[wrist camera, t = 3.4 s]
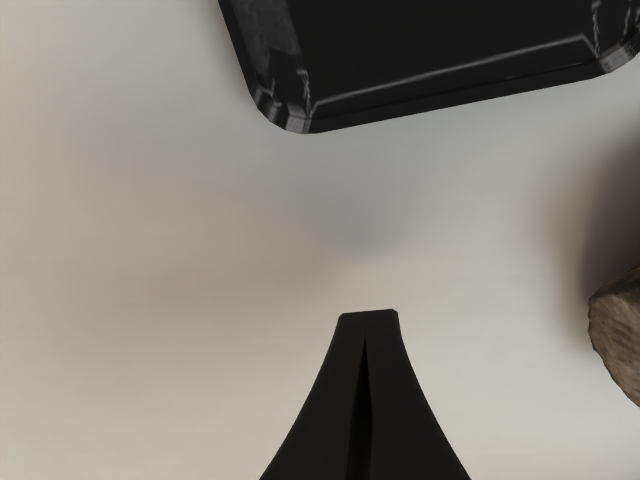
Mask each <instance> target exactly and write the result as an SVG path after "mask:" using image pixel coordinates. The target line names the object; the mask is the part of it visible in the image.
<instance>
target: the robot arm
mask: <svg viewBox="0 0 640 480" xmlns="http://www.w3.org/2000/svg"><path fill="white" fill-rule="evenodd" d="M259 480H471V478H470V477H469V475H468V474H467V472H466V470H465V469H464V467H463V465H462V464H461V462H460V461H459V459H458V457H457V456H456V454H455V452H454V451H453V449H452V447H451V445H450V444H449V442H448V440H447V438H446V437H445V435H444V433H443V431H442V429H441V428H440V426H439V424H438V422H437V420H436V418H435V416H434V414H433V412H432V410H431V408H430V406H429V404H428V402H427V400H426V398H425V396H424V394H423V391H422V389H421V387H420V385H419V382H418V380H417V378H416V375H415V373H414V370H413V368H412V366H411V363H410V360H409V358H408V355H407V352H406V349H405V346H404V343H403V340H402V336H401V331H400V324H399V318H398V312H397V311H395V310H393V309H386V310H374V311H363V312H352V313H343V314H342V315H340V316H339V319H338V322H337V326H336V329H335V332H334V335H333V338H332V341H331V344H330V346H329V349H328V352H327V354H326V357H325V359H324V362H323V364H322V366H321V369H320V371H319V373H318V375H317V378H316V380H315V382H314V385H313V387H312V389H311V391H310V393H309V395H308V397H307V399H306V401H305V403H304V405H303V407H302V409H301V411H300V413H299V415H298V417H297V419H296V420H295V422H294V424H293V426H292V428H291V429H290V431H289V433H288V435H287V436H286V438H285V440H284V442H283V443H282V445H281V447H280V448H279V450H278V451H277V453H276V455H275V456H274V458H273V459H272V461H271V462H270V464H269V465H268V467H267V468H266V470H265V471H264V473H263V474H262V476H261V477H260V479H259Z"/></svg>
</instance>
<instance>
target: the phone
mask: <svg viewBox="0 0 640 480" xmlns="http://www.w3.org/2000/svg"><path fill="white" fill-rule="evenodd" d="M218 2H219V5H220V8H221V11H222V14H223V17H224V20H225V23H226V26H227V28H228V31H229V34H230V37H231V40H232V43H233V46H234V49H235V52H236V55H237V57H238V60H239V63H240V66H241V69H242V72H243V75H244V78H245V81H246V84H247V86H248V89H249V92H250V95H251V96H252V98H253V100H254V102H255V104H256V106H257V108H258V110H259V111H260V112H261V113H262V114H263V115H264V116H265V117H266V118H267V119H268V120H269V121H270V122H272V123H274V124H275V125H277V126H279V127H280V128H282V129H284V130H287V131H291V132H295V133H299V134H314V133H322V132H327V131H332V130H337V129H342V128H347V127H352V126H357V125H362V124H367V123H372V122H377V121H382V120H387V119H392V118H397V117H402V116H408V115H413V114H418V113H423V112H428V111H433V110H438V109H443V108H448V107H453V106H458V105H463V104H468V103H473V102H478V101H483V100H488V99H493V98H498V97H503V96H508V95H513V94H518V93H523V92H528V91H533V90H538V89H543V88H548V87H553V86H558V85H563V84H568V83H573V82H578V81H583V80H588V79H592V78H595V77H598V76H601V75H604V74H607V73H610V72H613V71H614V70H616V69H617V68H619V67H621V66H622V65H624V64H625V63H627V62H628V61H630V60H632V59H633V58H634V57H635V56H636V55H637V54H638V53H639V52H640V0H218Z"/></svg>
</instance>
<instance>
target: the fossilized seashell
mask: <svg viewBox="0 0 640 480" xmlns="http://www.w3.org/2000/svg"><path fill="white" fill-rule="evenodd" d="M588 305H589V307H590V308H589V313H588V317H589V320H590V322H589V329H588V333H589V336H590V339H591V342H592V347H593V349H594V350H595V351H596V352H597V353H598V354H599V355H600V356H601V358H602V359H603V362H604V365H605V367H606V368H607V370H608V371H609V373H610V375H611V377H612V379H613V380H614V382H615V383H616V384H617V385H618V386H619V387H620V388H621V389H622V391H623V392H624V393H625V395H626V396H627V397H628V398H629V399H630V400H631V401H633V402H634V403H635V404H636V405H637V406H638V407H640V267H638V268H635V269H633V270H631V271H630V272H628V273H626V274H625V275H623V276H621V277H620V278H618V279H616V280H614V281H611V282H609V283H606V284H604V285H603V286H602V287H601V288H600V289H599V290H598V291H596V292H595V294H594V295H593V296H592V297H591V298H590V299H589V304H588Z"/></svg>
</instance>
